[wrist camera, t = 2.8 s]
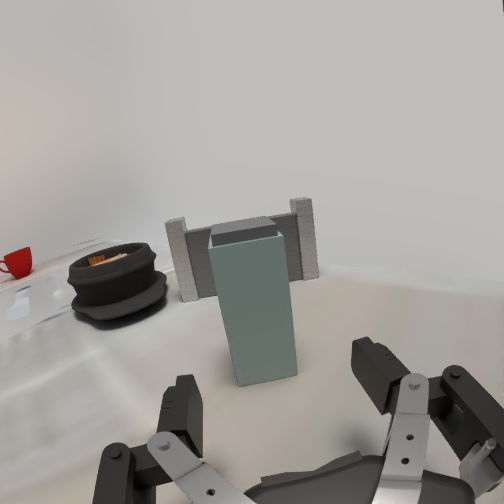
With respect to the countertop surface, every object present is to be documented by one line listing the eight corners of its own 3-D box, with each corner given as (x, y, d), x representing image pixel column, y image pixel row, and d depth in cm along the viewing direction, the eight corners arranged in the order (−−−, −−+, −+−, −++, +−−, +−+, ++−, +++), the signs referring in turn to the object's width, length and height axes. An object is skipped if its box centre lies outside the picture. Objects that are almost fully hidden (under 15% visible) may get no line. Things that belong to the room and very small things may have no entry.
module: (284, 343, 26) (268, 214, 23) (297, 374, 21) (281, 223, 18) (235, 353, 26) (208, 224, 22) (239, 386, 21) (205, 237, 17)
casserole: (72, 296, 48) (61, 259, 46) (146, 271, 59) (138, 235, 57) (79, 346, 29) (56, 288, 27) (195, 301, 39) (183, 246, 37)
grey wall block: (307, 266, 46) (299, 196, 43) (318, 277, 41) (311, 198, 38) (187, 288, 45) (171, 217, 42) (183, 302, 39) (164, 223, 36)
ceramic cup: (5, 280, 75) (-1, 257, 72) (37, 268, 85) (31, 245, 83) (0, 287, 65) (-7, 261, 63) (35, 274, 76) (28, 248, 73)
